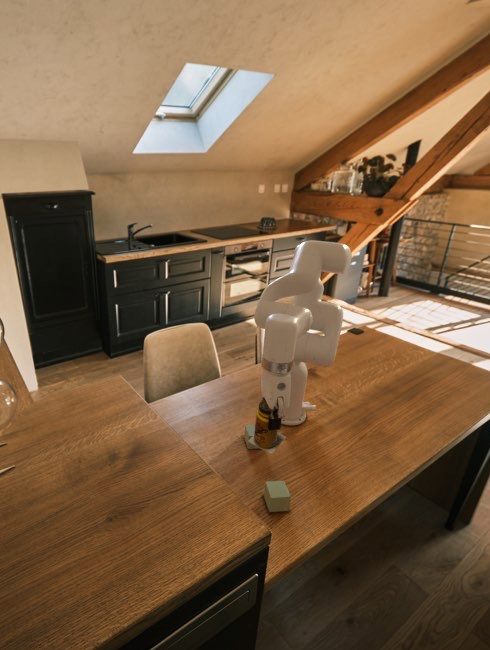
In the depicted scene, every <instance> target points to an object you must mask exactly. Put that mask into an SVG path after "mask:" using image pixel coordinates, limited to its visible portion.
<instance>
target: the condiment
mask: <svg viewBox="0 0 490 650" xmlns="http://www.w3.org/2000/svg"><path fill="white" fill-rule="evenodd" d="M261 401H262V400H261ZM261 401H260V402H259V404H258V408H257V411H256V415H255V424H254V425H255V432H254V436H253V437H252V438H251V439H250V440H249V441H248V442H250V443H251V444H253V445H255V446H257V447H258V448H257V449H261V450H262V451H264V452H267V453H269V454H271V455H273V454H274V452H276V450H277V449H278V447H279V446H280V445H281V444H282V443H283V442H284V440H285V439H286V438H287V436H285V435H283V434H280V433H279V430H268V421H269V417H270V416H271V413H270V407H269V406H268V404H267V402H266V400H265V401H262V402H261ZM275 406H277V404H276V405H275ZM275 413H278V409H274V414H275Z"/></svg>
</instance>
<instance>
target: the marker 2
mask: <svg viewBox="0 0 490 650" xmlns="http://www.w3.org/2000/svg"><path fill="white" fill-rule="evenodd" d="M263 497H264V501H265V504H266V507H267V510H268V513H277V512H289V509H290V503H291V498H292V497H291V494H290V492H289V489H288V486H287V484H286V482H285V480H277V481H276V480H274V481H265V482H264V491H263Z"/></svg>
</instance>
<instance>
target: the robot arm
mask: <svg viewBox="0 0 490 650" xmlns="http://www.w3.org/2000/svg"><path fill="white" fill-rule="evenodd" d="M352 258H353V255H352V250H351V247H349V246H348V245H347V244H344V243H341V242H333V241H323V240H315V239H314V240H311V239H310V240H306V241H303V242H301V243H300V244H298V245H297V246H296V247H295V248H294V251H293V258H292V262H291V264H290V266H289V269H288V271H287V274H284V275H282V276H280V277H278V278H276V279H275V280H273V281H272V282H270V283H268V285H266V287H265V288H264V289H263V291H262V293H261V294H260V297H259V299H258V302H257V304H256V307H255V310H254V315H253V317H254V323H255V325H256V326H257V327H258V328H259V329H263V330H264V335H263V346H262V355H261V363H260V367H261V370H262V371H261V377H260V391H261V401H260V402H262V401H265V400H266V402H267V404H268V406H269V407H270V413H271V416H270V417H269V421H268V430H278V431H279V430H281V428H282V427H281V426H282V425H285V426H299V425H301V424H303V423H304V422H305V420H306V418H307V413H308V412H316V411H317V405H316V404H313V405H312V404H310V402H309V401H304V399H305V393H306V387H307V382H308V373H309V372H308V368H307V365H306V364H309V365H311V366H312V365H313V366H317V367H321V368H329V367H331V366H332V365H333V364H334V363H335V359H336V357H337V352H338V347H339V343H340V337H341V333H342V328H343V322H344V311H343V308H342V306H341V305H339V304H336V303H333V302H328V301H322V299H323V295H324V291H325V287H324V284H323V281H322V280H321V278H320V277H321V273H323V272H324V273H330V274H336V275H337V274H338V275H345V274H346V273H347V272H348V271H349V269H350V267H351V264H352ZM289 297H293V299H292V304H289V303H285V302H284V303H283V302H279V300H281V299H285V298H289ZM310 330H311V331H316V332H320V333H323V334H317V333H312V332H309V331H310ZM276 404H277V406H275V405H276ZM274 409H278V413H275V414H274Z"/></svg>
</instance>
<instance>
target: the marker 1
mask: <svg viewBox="0 0 490 650" xmlns="http://www.w3.org/2000/svg"><path fill="white" fill-rule="evenodd" d="M254 432H255V424H244V434H243V440H244V442H245V445H246V447H247V450H253V449H256V450H257V449H259V448H258V447H257V446H255V445H253V444H251V443H250V442H248V441H249V440H250V439H251V438H252V437H253V436H254Z"/></svg>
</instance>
